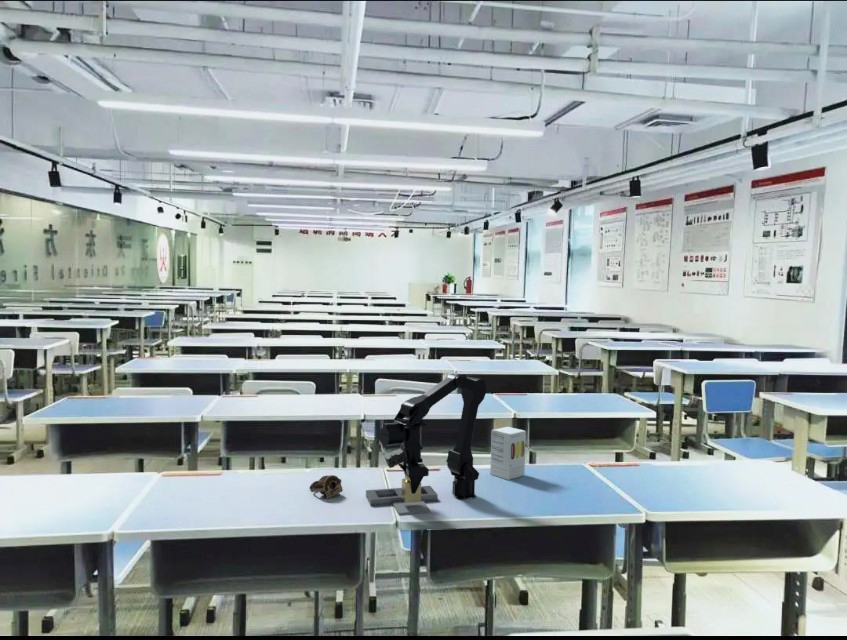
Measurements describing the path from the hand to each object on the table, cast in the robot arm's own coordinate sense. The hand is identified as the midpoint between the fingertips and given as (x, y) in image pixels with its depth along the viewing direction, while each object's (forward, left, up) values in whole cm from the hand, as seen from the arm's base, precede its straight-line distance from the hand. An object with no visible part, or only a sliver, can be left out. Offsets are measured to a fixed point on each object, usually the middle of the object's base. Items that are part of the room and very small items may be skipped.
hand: (411, 490), depth 197 cm
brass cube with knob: (0, 0, -3) cm, 3 cm away
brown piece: (+24, -20, -6) cm, 32 cm away
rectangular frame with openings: (+1, -9, -6) cm, 11 cm away
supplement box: (-43, -25, -6) cm, 50 cm away
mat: (0, 0, -6) cm, 6 cm away
